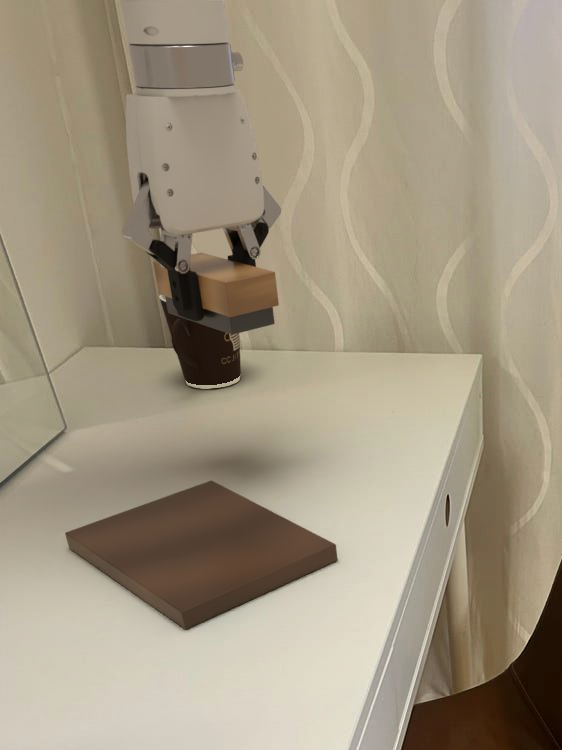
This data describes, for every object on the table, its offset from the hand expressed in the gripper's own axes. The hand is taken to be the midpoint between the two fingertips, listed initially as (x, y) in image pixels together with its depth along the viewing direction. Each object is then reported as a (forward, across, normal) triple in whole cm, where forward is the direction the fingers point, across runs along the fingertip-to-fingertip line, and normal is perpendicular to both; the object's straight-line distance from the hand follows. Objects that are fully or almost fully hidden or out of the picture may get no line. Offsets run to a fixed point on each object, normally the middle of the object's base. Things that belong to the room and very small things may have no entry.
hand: (218, 309), depth 85 cm
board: (+15, +12, +12) cm, 23 cm away
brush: (+1, 0, 0) cm, 1 cm away
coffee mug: (+15, -11, -24) cm, 30 cm away
